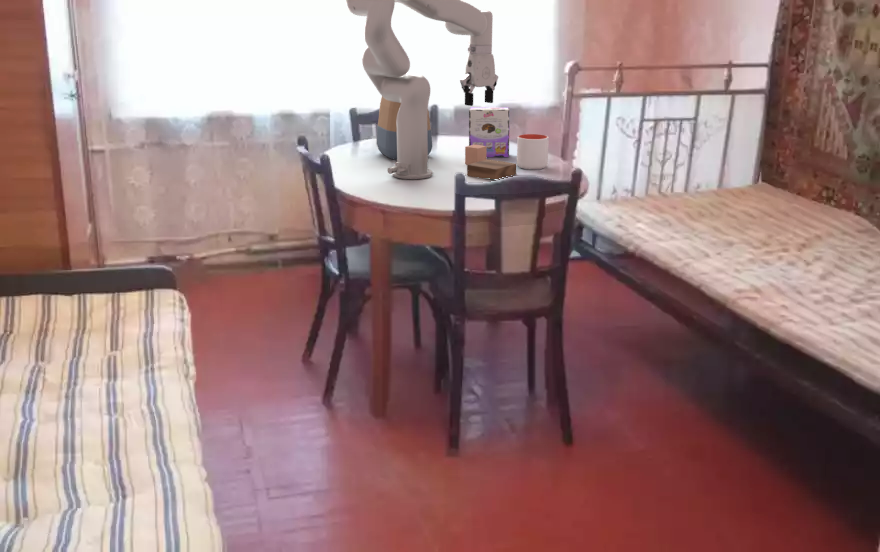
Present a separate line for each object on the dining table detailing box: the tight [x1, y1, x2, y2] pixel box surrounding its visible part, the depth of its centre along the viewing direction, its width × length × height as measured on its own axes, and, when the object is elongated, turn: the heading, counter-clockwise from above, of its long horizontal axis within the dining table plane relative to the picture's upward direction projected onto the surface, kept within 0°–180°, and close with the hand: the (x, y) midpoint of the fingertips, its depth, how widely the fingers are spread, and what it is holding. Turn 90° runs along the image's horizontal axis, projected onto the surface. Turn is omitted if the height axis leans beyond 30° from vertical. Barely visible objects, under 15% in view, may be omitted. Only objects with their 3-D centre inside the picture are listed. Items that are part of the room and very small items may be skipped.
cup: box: [516, 133, 550, 171], centre depth 307 cm, size 10×10×10 cm
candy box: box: [468, 106, 511, 158], centre depth 323 cm, size 14×6×16 cm, turn 84°
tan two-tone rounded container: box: [376, 95, 433, 161], centre depth 323 cm, size 17×17×23 cm
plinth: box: [466, 158, 517, 180], centre depth 296 cm, size 11×11×4 cm
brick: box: [464, 144, 487, 166], centre depth 312 cm, size 5×5×6 cm
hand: (479, 104), depth 309 cm, fingers open, 9 cm apart
